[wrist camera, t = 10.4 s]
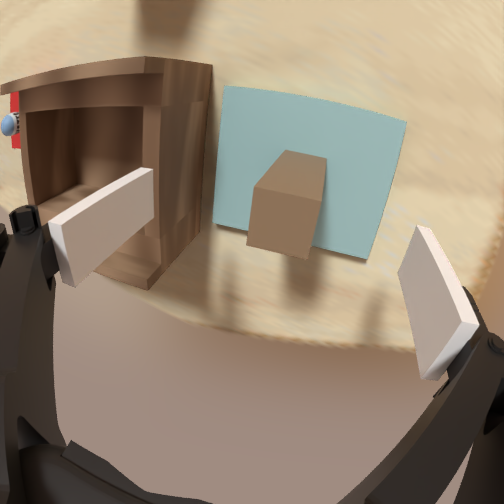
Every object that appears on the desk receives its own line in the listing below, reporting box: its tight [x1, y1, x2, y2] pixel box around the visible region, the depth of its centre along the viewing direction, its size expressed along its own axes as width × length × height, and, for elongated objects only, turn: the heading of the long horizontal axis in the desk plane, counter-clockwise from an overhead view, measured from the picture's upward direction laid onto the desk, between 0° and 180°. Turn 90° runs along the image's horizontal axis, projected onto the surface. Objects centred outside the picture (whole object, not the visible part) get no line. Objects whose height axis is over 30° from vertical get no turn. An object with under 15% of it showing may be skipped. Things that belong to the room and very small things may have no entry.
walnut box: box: [0, 56, 212, 290], centre depth 20 cm, size 15×14×9 cm
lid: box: [212, 86, 407, 260], centre depth 18 cm, size 13×11×10 cm
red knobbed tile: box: [1, 91, 21, 149], centre depth 22 cm, size 8×7×6 cm
